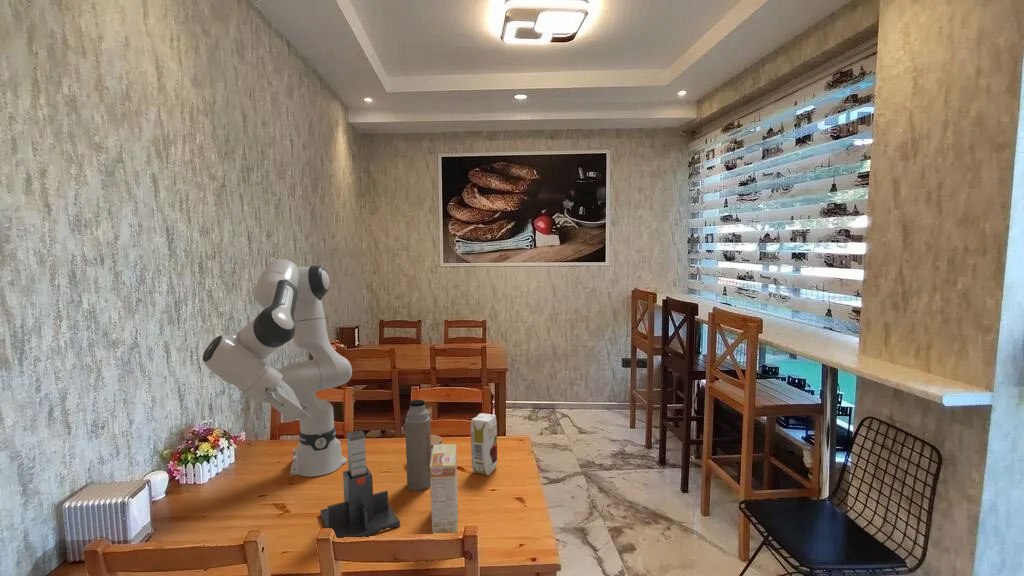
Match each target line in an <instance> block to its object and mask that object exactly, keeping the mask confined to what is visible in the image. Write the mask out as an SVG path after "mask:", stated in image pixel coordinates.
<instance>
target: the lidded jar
mask: <svg viewBox="0 0 1024 576" xmlns="http://www.w3.org/2000/svg"><path fill="white" fill-rule="evenodd" d="M437 444H443V438H442V436H440V435H436V434H431V456H432V450H433V445H437Z"/></svg>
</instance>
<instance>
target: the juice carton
mask: <svg viewBox="0 0 1024 576" xmlns="http://www.w3.org/2000/svg"><path fill="white" fill-rule="evenodd" d="M470 422H471V423H470V448H471V453H470V455H471V468H472V469H471V471H472V473H474V474H478V475H483V476H490V474H492V472H493V471H495V469H496V468H497V465H498V429H497V428H498V427H497V426H498V423H497V416H496V414H491V413H490V414H489V413H482V412H479V414H477V416H475V417H473V418H472V419H471V421H470Z"/></svg>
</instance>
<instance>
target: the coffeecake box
mask: <svg viewBox="0 0 1024 576" xmlns="http://www.w3.org/2000/svg"><path fill="white" fill-rule="evenodd" d="M457 458H458V457H457V443H448V444H447V443H442V444H437V445H433V450H432V456H431V462H430V484H431V486H430V506H431V534H432V533H457V534H458V522H459V521H458V519H459V518H458V517H459V497H458V468H457V465H458V464H457V462H458V461H457Z"/></svg>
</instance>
